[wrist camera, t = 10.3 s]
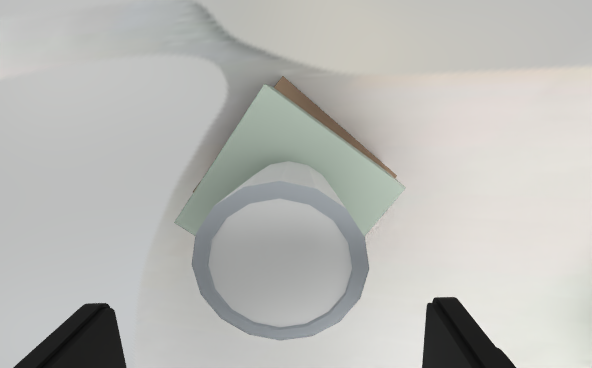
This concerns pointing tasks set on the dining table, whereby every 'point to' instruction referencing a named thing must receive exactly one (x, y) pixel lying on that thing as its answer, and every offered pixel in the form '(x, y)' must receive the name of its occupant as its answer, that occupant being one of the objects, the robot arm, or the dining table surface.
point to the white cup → (281, 255)
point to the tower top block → (296, 148)
